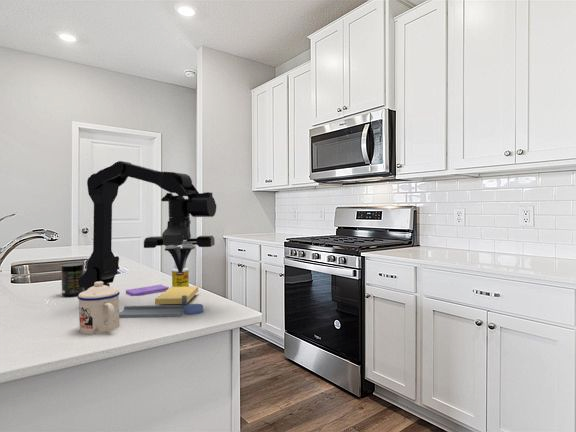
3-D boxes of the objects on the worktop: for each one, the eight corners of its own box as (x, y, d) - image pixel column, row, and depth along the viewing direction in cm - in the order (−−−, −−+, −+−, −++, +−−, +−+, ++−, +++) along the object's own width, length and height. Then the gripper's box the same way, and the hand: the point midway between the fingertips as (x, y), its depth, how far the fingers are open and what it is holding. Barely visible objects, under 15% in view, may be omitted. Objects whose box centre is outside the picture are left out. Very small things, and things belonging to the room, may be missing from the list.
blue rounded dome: (182, 316, 101) (182, 308, 101) (186, 311, 106) (186, 303, 106) (200, 316, 101) (200, 308, 101) (204, 311, 106) (204, 303, 106)
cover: (171, 291, 124) (171, 284, 124) (199, 291, 124) (198, 284, 124) (154, 305, 107) (154, 297, 107) (186, 304, 107) (186, 296, 107)
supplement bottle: (175, 294, 126) (174, 264, 126) (170, 291, 131) (169, 262, 131) (191, 292, 129) (190, 262, 129) (186, 289, 134) (185, 261, 134)
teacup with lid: (72, 330, 91) (71, 282, 90) (111, 321, 97) (110, 276, 97) (92, 341, 83) (90, 289, 82) (132, 331, 89) (131, 282, 89)
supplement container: (88, 294, 128) (87, 264, 128) (68, 298, 123) (67, 266, 122) (78, 292, 132) (77, 262, 132) (57, 296, 126) (56, 265, 126)
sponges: (169, 292, 132) (168, 287, 132) (132, 298, 124) (132, 292, 124) (160, 289, 137) (160, 284, 137) (125, 294, 129) (125, 289, 129)
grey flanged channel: (111, 319, 99) (111, 314, 99) (125, 309, 108) (125, 305, 108) (179, 318, 99) (179, 313, 99) (188, 308, 108) (188, 304, 108)
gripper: (134, 218, 98) (136, 277, 98) (205, 217, 98) (207, 276, 98) (150, 217, 109) (151, 270, 109) (214, 216, 109) (215, 269, 109)
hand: (180, 272), depth 106 cm, fingers closed
